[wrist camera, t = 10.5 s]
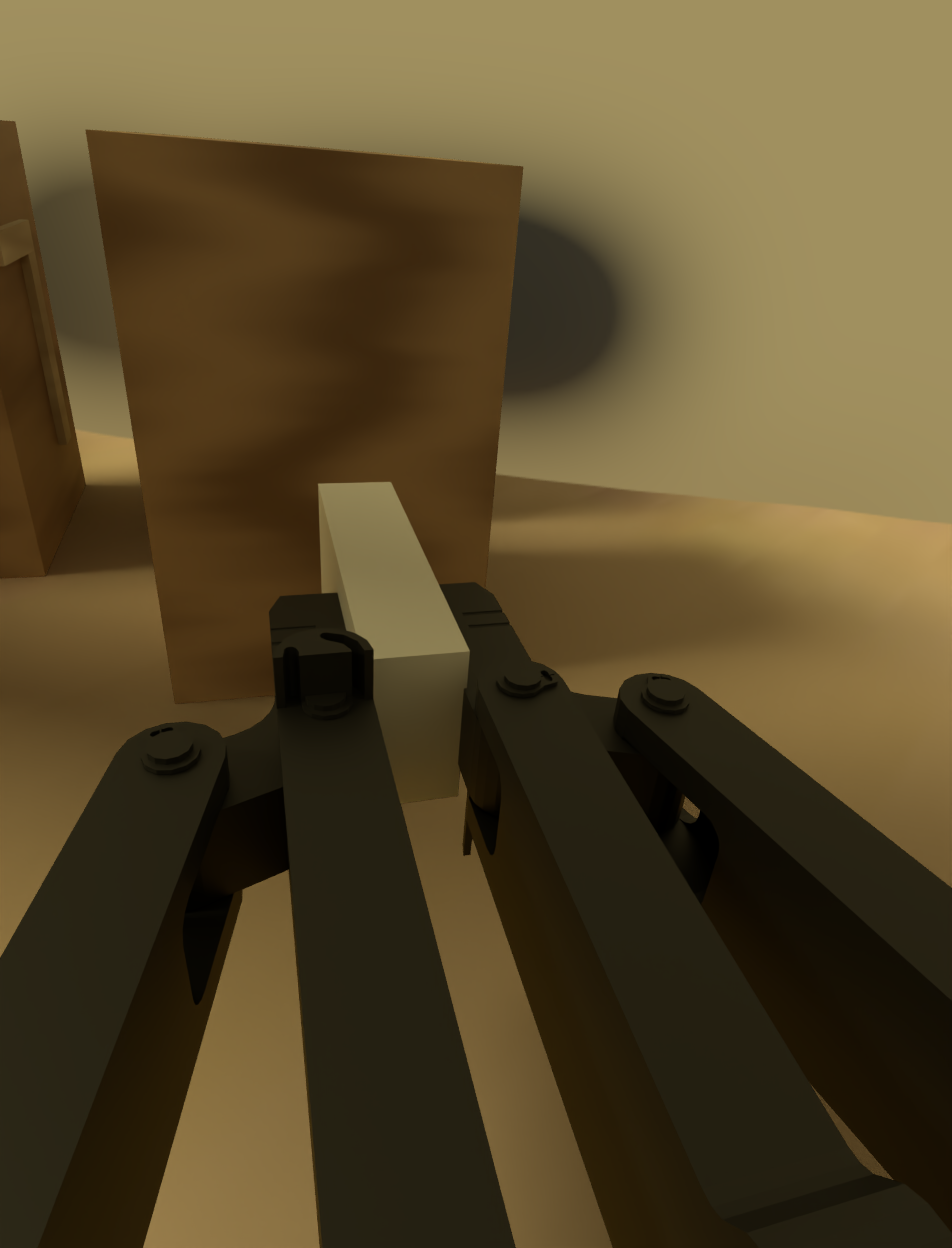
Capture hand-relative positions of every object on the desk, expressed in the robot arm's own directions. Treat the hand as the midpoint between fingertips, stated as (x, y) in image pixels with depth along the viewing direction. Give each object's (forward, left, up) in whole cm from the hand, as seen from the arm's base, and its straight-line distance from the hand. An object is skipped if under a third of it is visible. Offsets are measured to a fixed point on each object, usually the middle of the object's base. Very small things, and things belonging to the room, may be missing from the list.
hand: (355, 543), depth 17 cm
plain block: (-6, +6, -7) cm, 11 cm away
